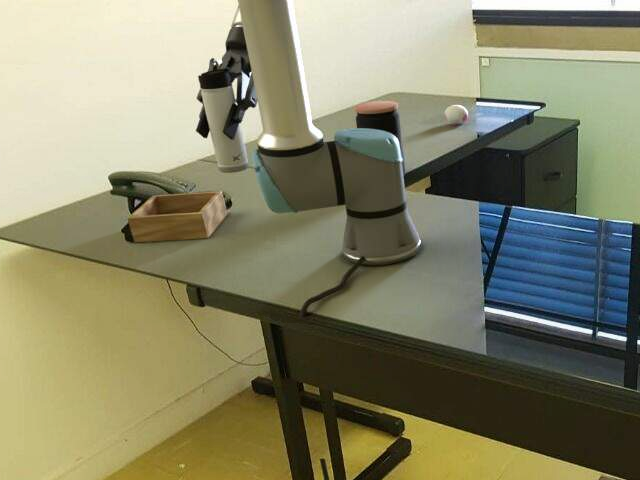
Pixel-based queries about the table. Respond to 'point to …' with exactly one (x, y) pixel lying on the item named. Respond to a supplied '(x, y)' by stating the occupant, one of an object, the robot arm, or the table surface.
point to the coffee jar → (381, 119)
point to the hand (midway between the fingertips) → (214, 135)
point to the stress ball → (456, 114)
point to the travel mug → (222, 120)
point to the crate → (178, 216)
